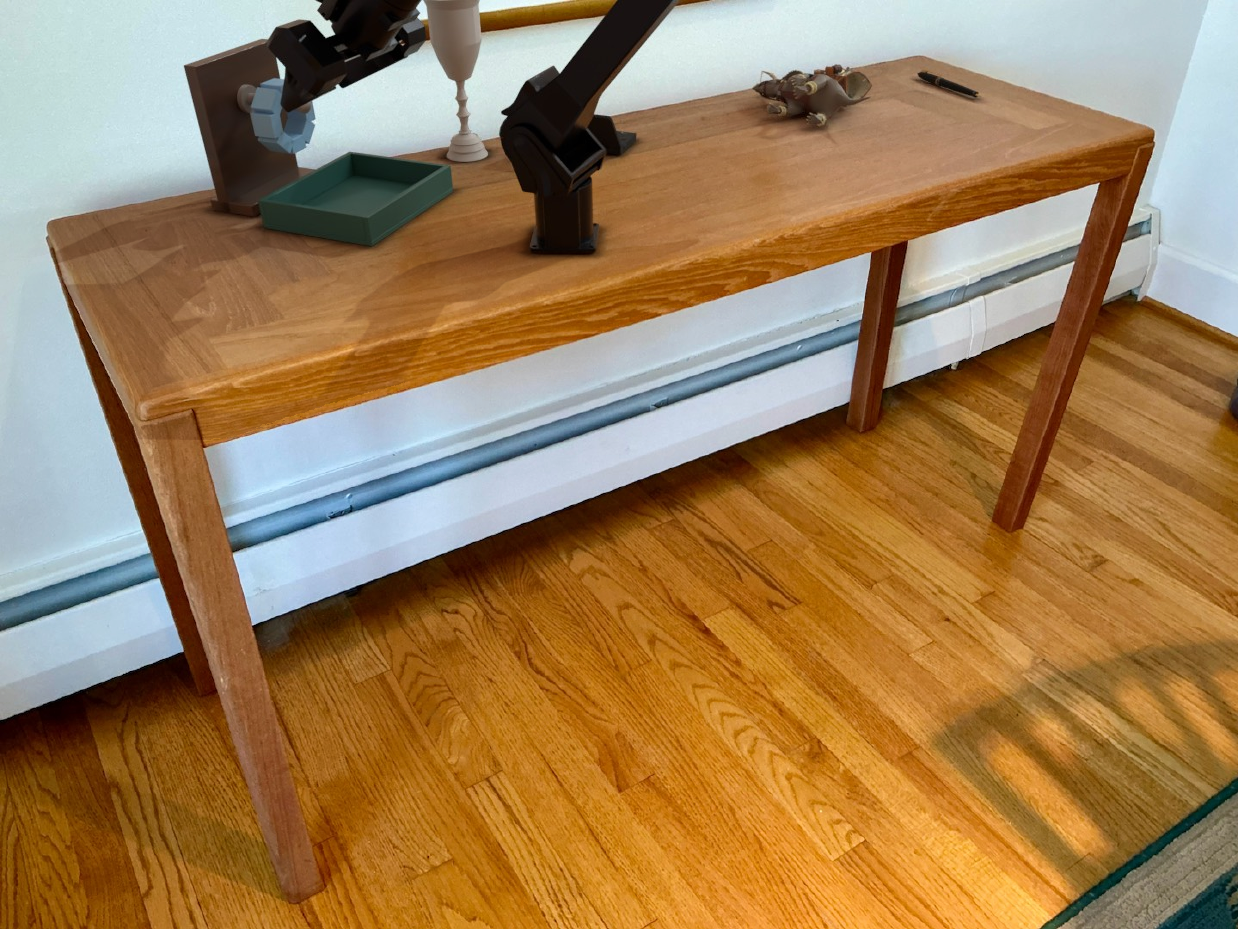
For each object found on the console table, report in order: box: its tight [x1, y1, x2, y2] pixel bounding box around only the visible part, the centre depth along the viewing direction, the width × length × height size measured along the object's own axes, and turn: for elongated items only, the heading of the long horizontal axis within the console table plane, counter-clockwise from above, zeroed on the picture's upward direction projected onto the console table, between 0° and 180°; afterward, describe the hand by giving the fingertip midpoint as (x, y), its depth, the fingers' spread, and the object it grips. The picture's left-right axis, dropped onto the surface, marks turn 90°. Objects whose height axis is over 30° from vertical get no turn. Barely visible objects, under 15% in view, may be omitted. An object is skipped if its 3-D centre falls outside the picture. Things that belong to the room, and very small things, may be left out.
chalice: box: [422, 0, 489, 163], centre depth 115 cm, size 7×7×18 cm
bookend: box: [587, 113, 637, 156], centre depth 121 cm, size 12×7×10 cm
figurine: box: [751, 63, 873, 127], centre depth 133 cm, size 20×6×17 cm
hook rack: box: [183, 38, 317, 218], centre depth 105 cm, size 11×12×15 cm
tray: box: [258, 151, 454, 247], centre depth 106 cm, size 13×16×3 cm
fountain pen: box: [916, 69, 985, 99], centre depth 142 cm, size 14×1×2 cm, turn 26°
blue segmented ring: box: [250, 78, 317, 154], centre depth 104 cm, size 2×7×7 cm, turn 158°
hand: (313, 95), depth 101 cm, fingers open, 9 cm apart
